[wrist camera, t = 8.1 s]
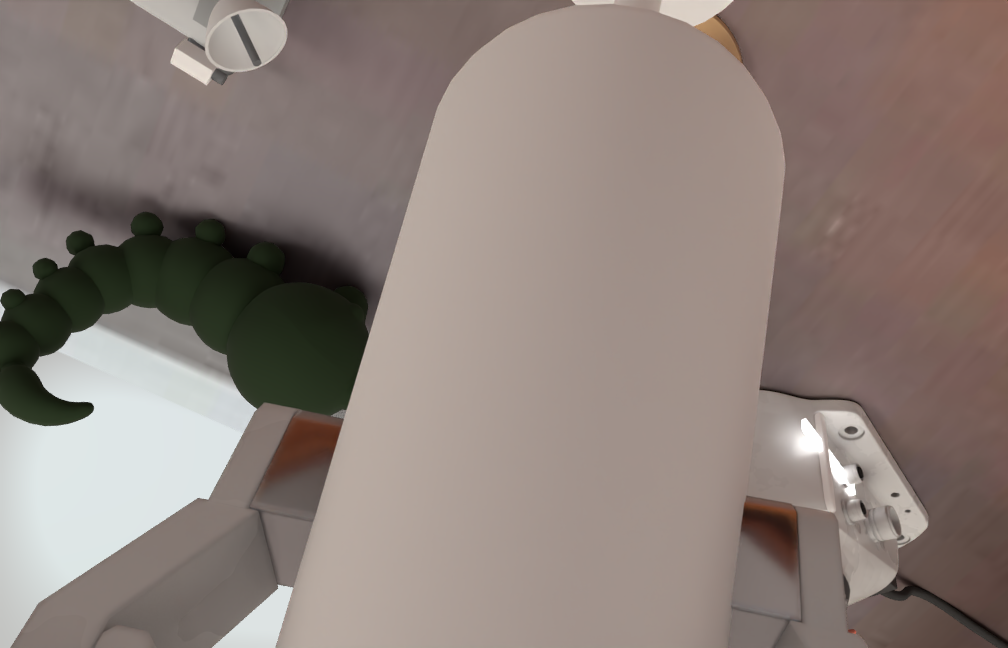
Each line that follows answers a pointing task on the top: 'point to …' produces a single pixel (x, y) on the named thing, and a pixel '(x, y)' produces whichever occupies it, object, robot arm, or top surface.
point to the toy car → (222, 34)
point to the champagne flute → (561, 353)
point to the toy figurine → (188, 318)
